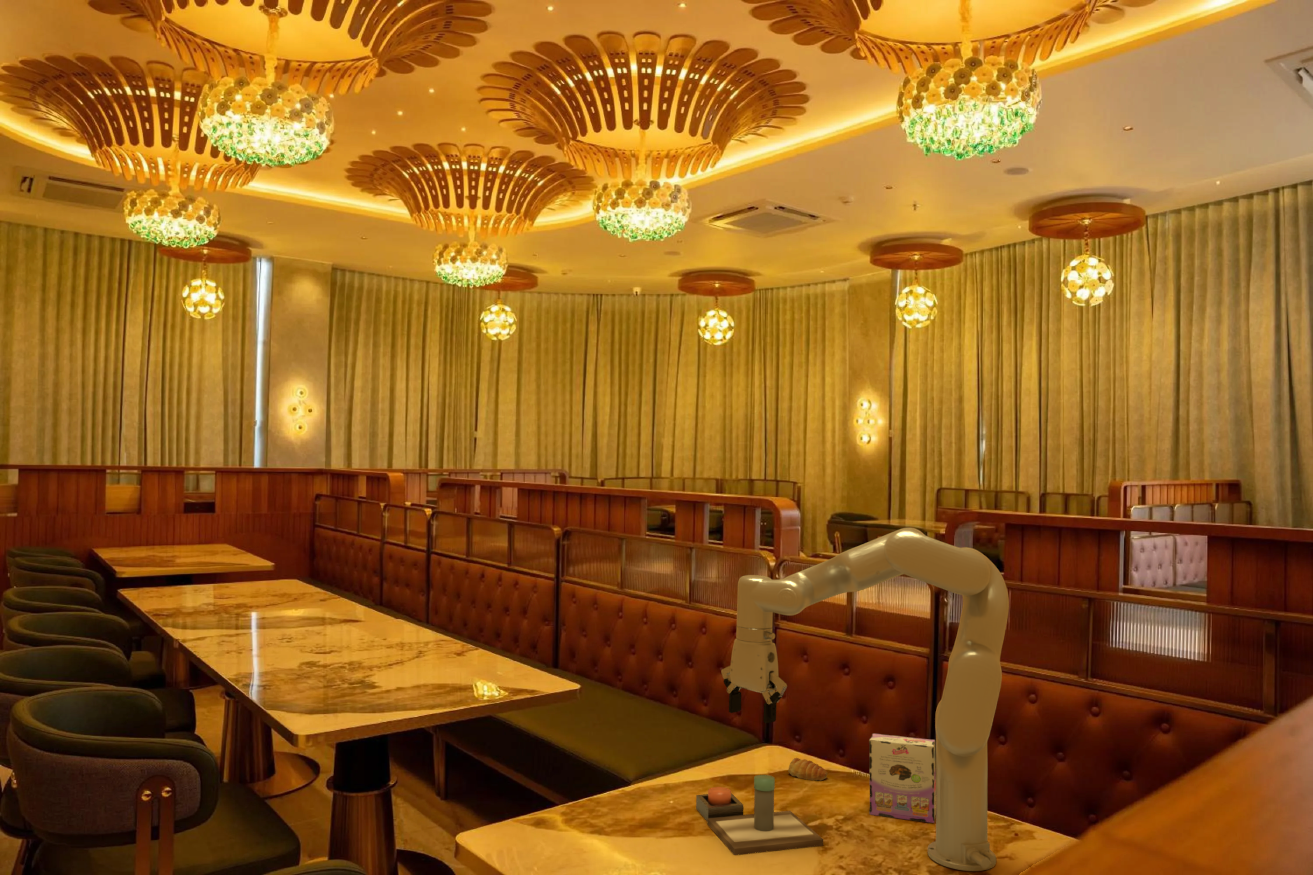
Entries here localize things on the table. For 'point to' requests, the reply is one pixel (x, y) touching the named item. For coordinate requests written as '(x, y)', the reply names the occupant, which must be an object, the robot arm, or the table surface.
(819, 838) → the board
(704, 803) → the button housing
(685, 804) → the table surface
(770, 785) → the cylinder
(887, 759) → the candy box
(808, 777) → the pastry
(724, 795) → the button
